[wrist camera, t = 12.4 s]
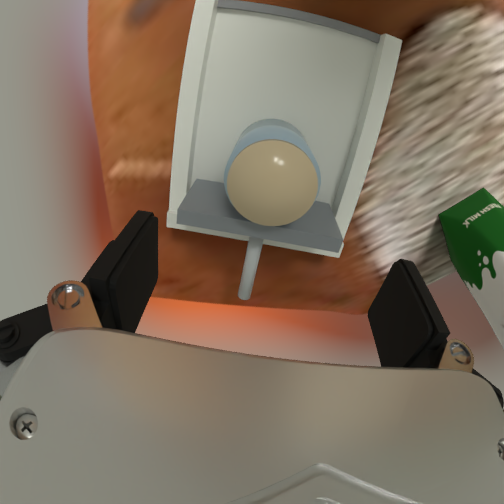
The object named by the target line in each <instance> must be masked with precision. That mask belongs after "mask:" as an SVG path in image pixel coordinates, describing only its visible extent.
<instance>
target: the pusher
mask: <svg viewBox="0 0 504 504" xmlns="http://www.w3.org/2000/svg"><path fill="white" fill-rule="evenodd" d="M177 224H182V225H188V226H193V227H199V228H205V229H211V230H216V231H222V232H228V233H233V234H239V235H245V236H250V237H249V242H248V247H247V251H246V256H245V261H244V266H243V271H242V276H241V281H240V286H239V291H238V297H239V298H240V299H242V300H248V299H249V298H250V296H251V292H252V287H253V283H254V279H255V275H256V270H257V266H258V262H259V258H260V253H261V249H262V245H263V240H264V239H267V240H272V241H278V242H283V243H288V244H294V245H299V246H305V247H310V248H315V249H320V250H326V251H331V252H336V253H339V250H340V248H341V245H342V242H343V237H342V235H341V232H340V229H339V227H338V224H337V222H336V219H335V217H334V214H333V212H332V209H331V207H330V205H329V204H328V203H324V202H319V201H315V202H314V203H313V205H312V206H311V207H310V209H309V210H308V211H307V212H306V213H305V214H304V215H303V216H302V217H300V218H299V219H297V220H296V221H293V222H291V223H289V224H286V225H281V226H264V225H260V224H257V223H254V222H252V221H250V220H248V219H246V218H245V217H243V216H242V215H241V214H240V213H239V212H238V211H237V210H236V209H235V207H234V206H233V205H232V204H231V202H230V200H229V198H228V196H227V194H226V191H225V186H224V183H221V182H215V181H209V180H202V179H196V180H195V182H194V183H193V185H192V187H191V188H190V190H189V191H188V193H187V194H186V196H185V198H184V199H183V201H182V203H181V204H180V206H179V207H178V209H177Z"/></svg>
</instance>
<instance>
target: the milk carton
mask: <svg viewBox="0 0 504 504" xmlns="http://www.w3.org/2000/svg"><path fill="white" fill-rule="evenodd" d="M439 218H440V221H441V225H442V228H443V232H444V235H445V239H446V243H447V247H448V250H449V255H450V259H451V261H452V263H453V264H454V266H455V268H456V270H457V272H458V273H459V275H460V277H461V279H462V280H463V282H464V283H465V285H466V286H467V288H468V289H469V291H470V292H471V294H472V296H473V297H474V299H475V300H476V302H477V304H478V305H479V307H480V309H481V310H482V312H483V313H484V315H485V317H486V319H487V320H488V322H489V324H490V326H491V327H492V329H493V331H494V333H495V334H496V336H497V338H498V340H499V342H500V343H501V345H502V347H503V349H504V207H503V206H502V205H501V204H500V203H499V202H498V201H497V200H496V199H495V198H494V197H493V196H492V195H491V194H490V193H489V192H488V191H487V190H486V189H484V188H482V189H480V190H479V191H477V192H476V193H474V194H472V195H471V196H469V197H467V198H466V199H464V200H462V201H461V202H459V203H457V204H456V205H454V206H452V207H451V208H449V209H447V210H446V211H444V212H442V213H440V214H439Z"/></svg>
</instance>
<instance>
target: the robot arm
mask: <svg viewBox="0 0 504 504" xmlns="http://www.w3.org/2000/svg"><path fill="white" fill-rule="evenodd" d="M157 279H158V218H157V217H154V214H153V212H146V211H140V210H138V211H137V212H136V214H135V215H134V216H133V217H132V219H131V220H130V221H129V222H128V224H127V225H126V226H125V228H124V229H123V230H122V232H121V233H120V234H119V235H118V237H117V238H116V239H115V240H112V241H111V242H110V243H109V244H108V245H107V246H106V248H105V249H104V250H103V252H102V253H101V254H100V256H99V257H98V258H97V260H96V261H95V263H94V264H93V265H92V267H91V268H90V270H89V271H88V272H87V274H86V275H85V277H84V278H83V280H82V281H81V282H79V281H73V280H69V281H64V282H61V283H59V284H57V285H56V286H54V287H53V288H52V289H51V290H50V292H49V294H48V296H47V304H45V305H42V306H40V307H37V308H34V309H31V310H28V311H26V312H23V313H20V314H17V315H15V316H12V317H9V318H6V319H4V320H2V321H0V504H504V410H503V404H504V402H503V397H502V393H501V391H500V390H499V389H498V388H496V387H495V386H494V385H492V384H491V383H490V382H489V381H488V380H487V379H486V378H484V377H483V376H482V375H480V374H479V373H478V372H477V371H476V370H474V369H473V364H474V357H473V354H472V352H471V350H470V349H469V347H468V346H467V345H466V344H465V343H463V342H462V341H460V340H457V339H451V340H449V341H448V342H447V339H446V338H447V337H448V335H449V334H450V332H449V330H448V328H447V325H446V323H445V321H444V320H443V317H442V315H441V313H440V311H439V309H438V307H437V305H436V303H435V301H434V299H433V297H432V295H431V293H430V292H429V289H428V288H427V286H426V284H425V282H424V280H423V278H422V277H421V275H420V273H419V271H418V269H417V268H416V266H415V264H414V263H413V262H412V261H408V260H404V259H399V260H398V261H397V262H394V264H393V265H392V267H391V269H390V271H389V273H388V275H387V277H386V279H385V281H384V283H383V284H382V286H381V288H380V290H379V292H378V294H377V296H376V297H375V299H374V301H373V303H372V305H371V306H370V308H369V311H368V318H369V322H370V326H371V329H372V333H373V336H374V340H375V344H376V347H377V351H378V355H379V358H380V362H381V367H374V366H357V365H341V364H329V363H318V362H307V361H298V360H289V359H281V358H273V357H265V356H258V355H250V354H244V353H237V352H230V351H225V350H219V349H213V348H207V347H201V346H197V345H191V344H186V343H181V342H176V341H170V340H165V339H161V338H156V337H151V336H146V335H141V334H136V333H135V331H136V329H137V326H138V324H139V321H140V319H141V317H142V314H143V312H144V310H145V307H146V305H147V303H148V301H149V298H150V296H151V294H152V292H153V289H154V287H155V285H156V283H157Z"/></svg>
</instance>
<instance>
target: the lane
mask: <svg viewBox="0 0 504 504" xmlns="http://www.w3.org/2000/svg"><path fill="white" fill-rule="evenodd" d="M401 45H402V40H401V39H398V38H396V37H393V36H391V35H389V34H382V35H379V34H377V33H374V32H371V31H369V30H366V29H363V28H360V27H357V26H354V25H351V24H348V23H345V22H341V21H338V20H335V19H331V18H327V17H324V16H320V15H316V14H312V13H308V12H304V11H299V10H294V9H290V8H285V7H279V6H274V5H268V4H261V3H254V2H246V1H238V0H196V2H195V7H194V12H193V17H192V21H191V27H190V32H189V37H188V43H187V48H186V54H185V60H184V67H183V73H182V80H181V87H180V94H179V102H178V110H177V118H176V127H175V136H174V147H173V158H172V170H171V184H170V200H169V210H168V212H167V227H170V228H176V229H182V230H188V231H193V232H199V233H205V234H210V235H216V236H222V237H227V238H233V239H239V240H244V241H249V237H250V236H245V235H239V234H233V233H228V232H222V231H216V230H211V229H205V228H199V227H193V226H188V225H182V224H177V209H178V207H179V206H180V204H181V203H182V201H183V199H184V198H185V196H186V194H187V193H188V191H189V190H190V188H191V187H192V185H193V183H194V182H195V180H196V179H202V180H209V181H215V182H221V183H224V172H225V168H226V165H227V162H228V160H229V158H230V155H231V153H232V151H233V149H234V147H235V145H236V143H237V140H238V138H239V137H240V135H241V133H242V132H243V131H244V130H245V129H246V128H247V127H248V126H250V125H251V124H253V123H255V122H257V121H259V120H263V119H279V120H283V121H286V122H288V123H290V124H292V125H293V126H294V127H296V128H297V129H298V130H299V131H300V132H301V134H302V135H303V137H304V139H305V140H306V142H307V144H308V146H309V148H310V150H311V152H312V154H313V155H314V157H315V159H316V161H317V163H318V166H319V170H320V175H321V184H320V190H319V193H318V196H317V198H316V200H315V201H319V202H324V203H328V204H329V205H330V207H331V209H332V212H333V214H334V217H335V219H336V222H337V224H338V227H339V229H340V232H341V235H342V237H343V240H344V237H345V234H346V232H347V229H348V226H349V223H350V221H351V218H352V215H353V212H354V210H355V207H356V204H357V201H358V198H359V195H360V192H361V189H362V186H363V183H364V180H365V177H366V174H367V171H368V168H369V165H370V162H371V159H372V155H373V152H374V149H375V146H376V142H377V139H378V136H379V132H380V129H381V125H382V122H383V118H384V114H385V111H386V107H387V103H388V100H389V96H390V92H391V88H392V84H393V80H394V76H395V71H396V67H397V63H398V58H399V54H400V49H401ZM263 244H266V245H272V246H277V247H283V248H288V249H294V250H299V251H305V252H310V253H316V254H321V255H326V256H332V257H337V258H339V257H340V254H341V251H342V249H343V246H344V243H343V242H342V245H341V248H340V250H339V253H336V252H331V251H326V250H320V249H315V248H310V247H305V246H299V245H294V244H288V243H283V242H278V241H272V240H267V239H264V240H263Z"/></svg>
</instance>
